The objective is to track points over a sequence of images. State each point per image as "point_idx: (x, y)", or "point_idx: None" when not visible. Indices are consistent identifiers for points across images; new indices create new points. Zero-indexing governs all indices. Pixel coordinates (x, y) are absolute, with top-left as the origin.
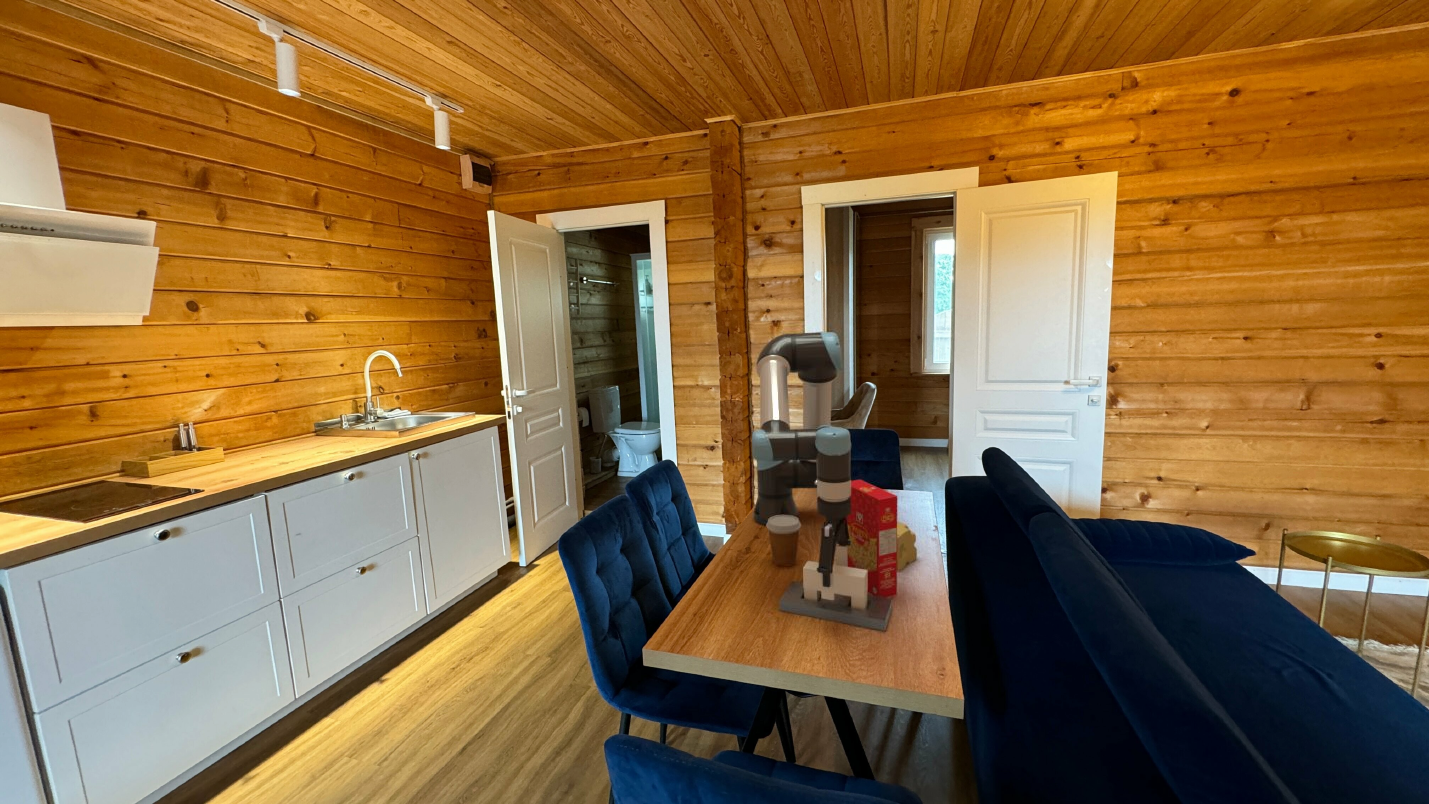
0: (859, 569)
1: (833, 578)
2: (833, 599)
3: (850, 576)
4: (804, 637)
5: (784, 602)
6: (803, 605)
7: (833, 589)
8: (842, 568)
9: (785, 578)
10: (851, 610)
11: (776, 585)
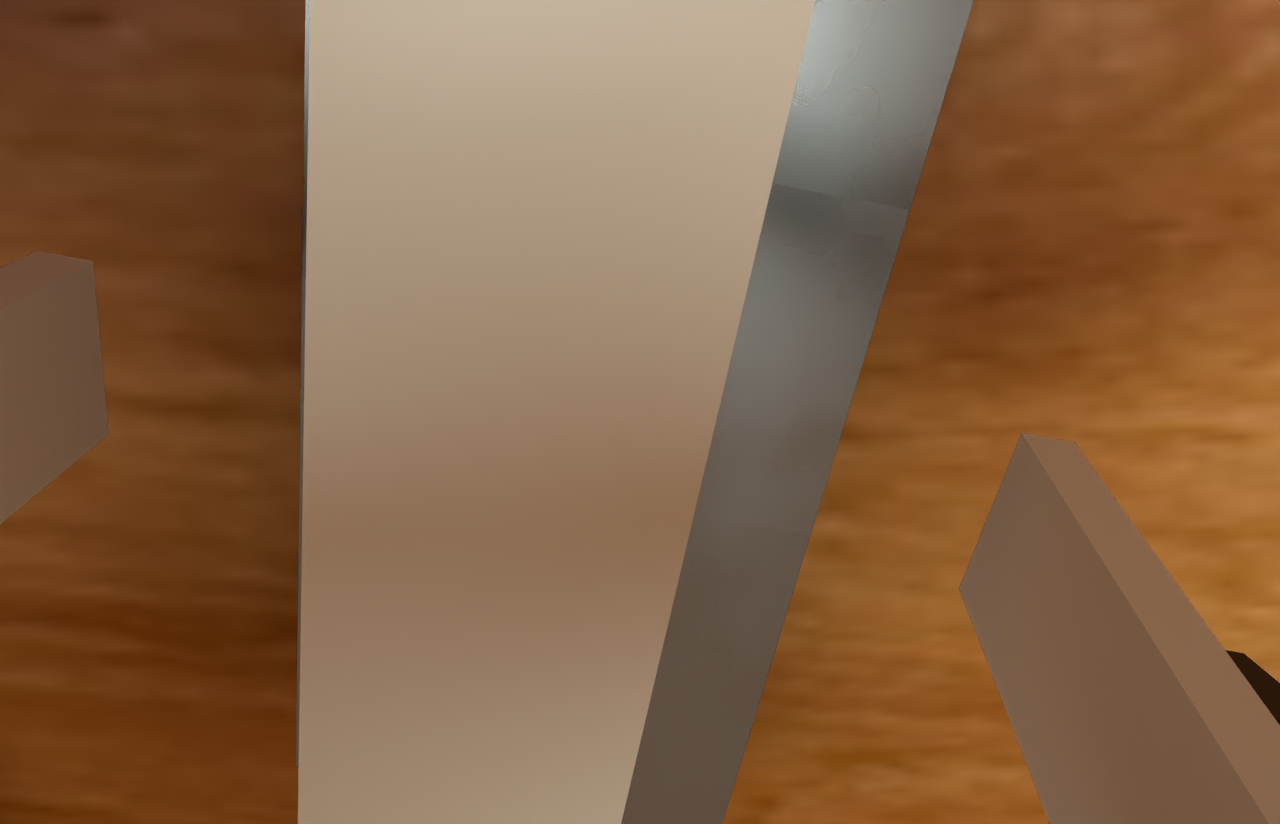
0: (349, 55)
1: (1238, 698)
2: (1076, 449)
3: (750, 274)
4: (1166, 548)
5: (726, 793)
6: (773, 646)
7: (1139, 544)
8: (423, 457)
9: (131, 753)
10: (834, 117)
11: (289, 805)
